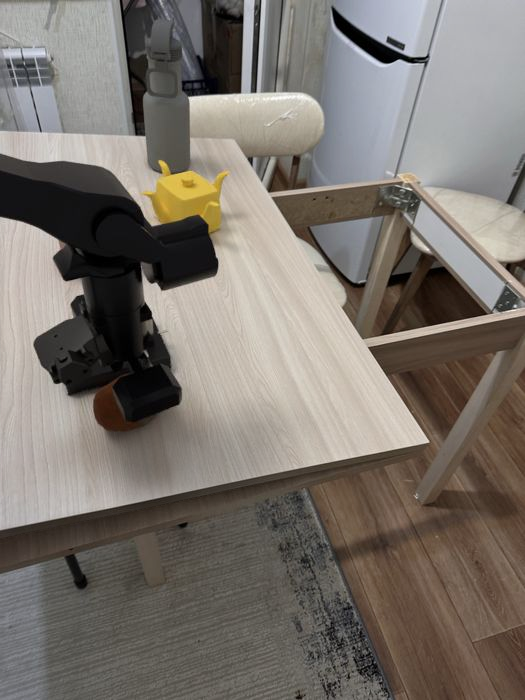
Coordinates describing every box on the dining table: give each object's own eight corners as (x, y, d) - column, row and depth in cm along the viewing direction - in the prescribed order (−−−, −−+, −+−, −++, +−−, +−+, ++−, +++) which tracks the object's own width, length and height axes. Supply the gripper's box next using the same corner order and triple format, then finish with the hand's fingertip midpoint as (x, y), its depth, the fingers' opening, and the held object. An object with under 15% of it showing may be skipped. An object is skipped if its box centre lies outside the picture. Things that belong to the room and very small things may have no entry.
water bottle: (187, 177, 109) (185, 33, 90) (144, 173, 109) (132, 27, 89) (192, 157, 117) (191, 20, 97) (151, 153, 116) (141, 14, 96)
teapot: (161, 200, 101) (158, 154, 94) (228, 209, 101) (230, 164, 94) (142, 238, 91) (138, 190, 84) (217, 248, 91) (218, 201, 84)
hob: (68, 395, 64) (64, 382, 62) (56, 345, 70) (52, 331, 68) (178, 366, 69) (178, 353, 67) (158, 322, 75) (157, 309, 73)
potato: (90, 405, 63) (82, 372, 58) (160, 385, 66) (157, 352, 62) (103, 447, 59) (95, 415, 54) (176, 424, 62) (175, 392, 58)
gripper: (8, 266, 51) (42, 367, 62) (59, 389, 40) (89, 484, 51) (113, 243, 55) (127, 340, 66) (182, 347, 45) (185, 442, 56)
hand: (130, 395), depth 60 cm, fingers open, 9 cm apart
